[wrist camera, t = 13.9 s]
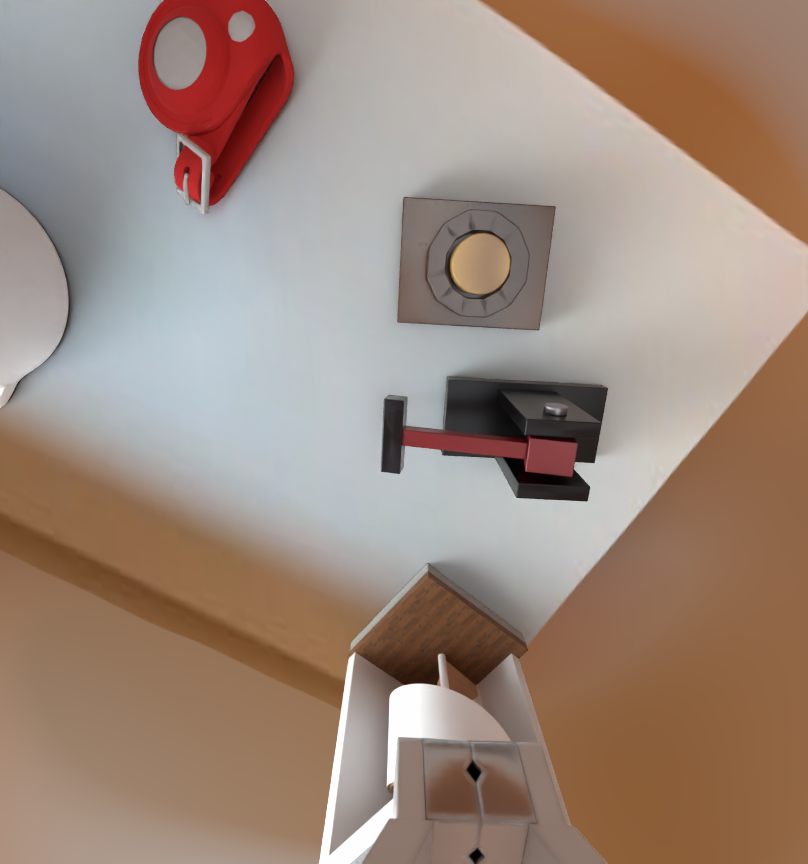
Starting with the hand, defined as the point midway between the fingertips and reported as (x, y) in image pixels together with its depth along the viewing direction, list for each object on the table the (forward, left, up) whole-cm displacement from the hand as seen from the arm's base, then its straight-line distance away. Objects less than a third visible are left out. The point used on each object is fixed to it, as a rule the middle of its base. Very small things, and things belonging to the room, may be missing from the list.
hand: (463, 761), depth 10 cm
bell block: (+3, +11, -29) cm, 31 cm away
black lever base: (+8, 0, -29) cm, 30 cm away
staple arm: (+4, 0, -23) cm, 24 cm away
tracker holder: (-15, +20, -29) cm, 39 cm away
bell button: (+3, +11, -25) cm, 28 cm away
